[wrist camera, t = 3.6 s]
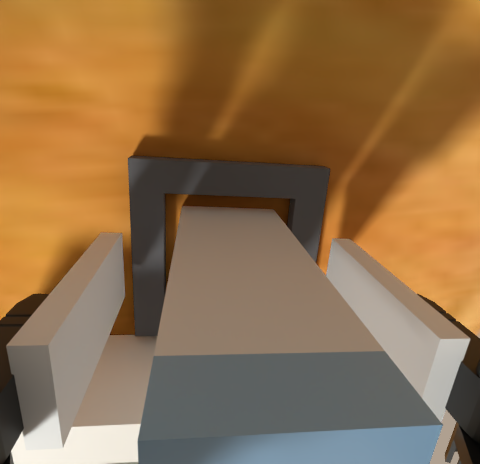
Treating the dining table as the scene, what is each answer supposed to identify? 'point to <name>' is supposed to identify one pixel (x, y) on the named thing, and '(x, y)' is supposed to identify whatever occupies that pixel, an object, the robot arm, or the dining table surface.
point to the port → (105, 409)
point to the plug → (269, 358)
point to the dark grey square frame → (209, 183)
